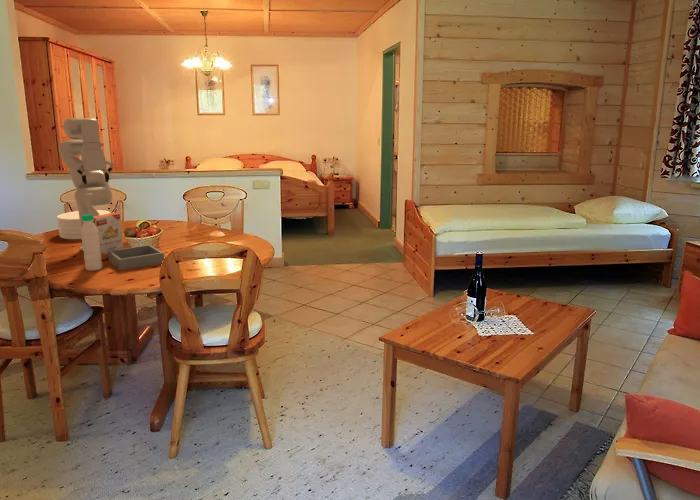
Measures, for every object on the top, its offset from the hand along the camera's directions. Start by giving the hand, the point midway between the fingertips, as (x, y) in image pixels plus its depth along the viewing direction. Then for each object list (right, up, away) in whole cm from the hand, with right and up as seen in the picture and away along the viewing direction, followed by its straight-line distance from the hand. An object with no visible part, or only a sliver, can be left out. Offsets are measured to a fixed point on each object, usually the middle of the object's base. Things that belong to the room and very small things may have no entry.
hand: (96, 182), depth 269 cm
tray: (+18, -37, +2) cm, 42 cm away
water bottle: (+3, -41, -9) cm, 42 cm away
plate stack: (-33, -23, +62) cm, 74 cm away
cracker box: (+1, -35, +11) cm, 37 cm away
